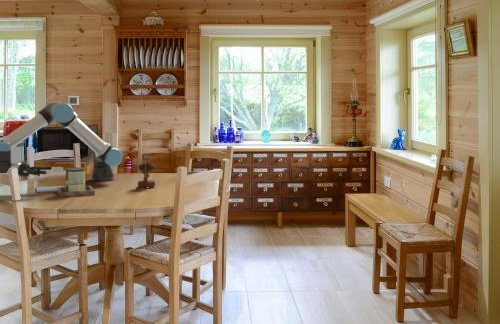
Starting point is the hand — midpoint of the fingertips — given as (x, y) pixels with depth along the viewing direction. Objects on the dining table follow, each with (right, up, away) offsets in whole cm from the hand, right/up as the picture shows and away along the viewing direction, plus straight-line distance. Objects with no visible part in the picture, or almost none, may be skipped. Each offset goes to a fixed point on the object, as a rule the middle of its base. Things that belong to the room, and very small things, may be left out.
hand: (57, 171), depth 288 cm
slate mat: (-9, -11, +12) cm, 19 cm away
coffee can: (+10, -13, +1) cm, 16 cm away
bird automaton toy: (+45, -10, +26) cm, 53 cm away
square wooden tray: (+10, -13, +1) cm, 16 cm away
